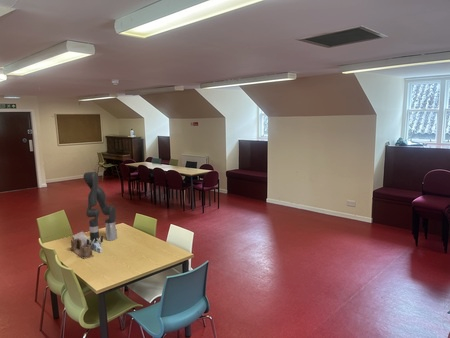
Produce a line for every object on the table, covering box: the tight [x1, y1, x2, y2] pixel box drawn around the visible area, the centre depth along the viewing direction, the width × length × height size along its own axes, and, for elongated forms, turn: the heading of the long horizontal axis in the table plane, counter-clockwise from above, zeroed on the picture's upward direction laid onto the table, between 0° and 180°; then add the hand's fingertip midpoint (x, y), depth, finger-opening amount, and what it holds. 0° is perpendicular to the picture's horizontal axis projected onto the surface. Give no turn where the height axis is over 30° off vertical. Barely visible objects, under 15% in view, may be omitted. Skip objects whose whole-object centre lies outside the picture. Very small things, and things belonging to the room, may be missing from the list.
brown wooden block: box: [70, 238, 94, 260], centre depth 280 cm, size 8×29×9 cm, turn 46°
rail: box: [89, 241, 103, 254], centre depth 288 cm, size 4×22×6 cm, turn 46°
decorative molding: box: [72, 231, 91, 247], centre depth 310 cm, size 34×5×10 cm
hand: (95, 248), depth 288 cm, fingers open, 7 cm apart
